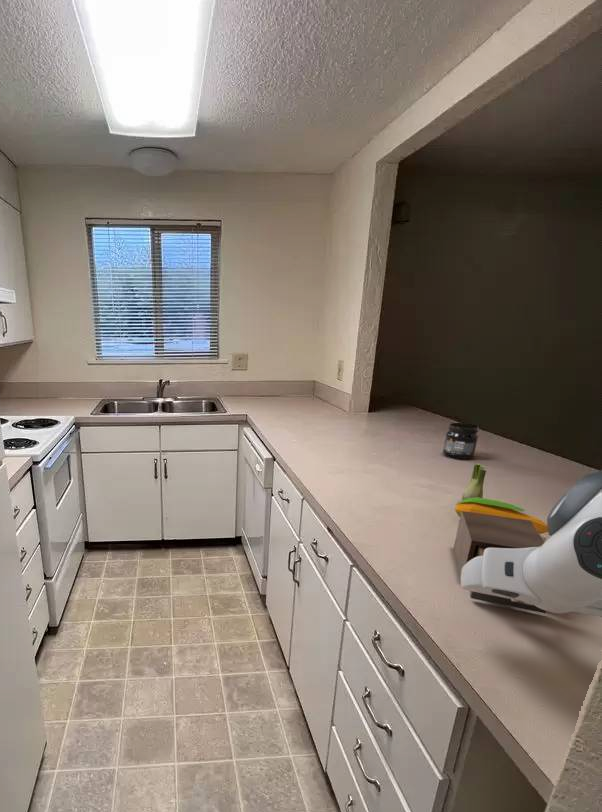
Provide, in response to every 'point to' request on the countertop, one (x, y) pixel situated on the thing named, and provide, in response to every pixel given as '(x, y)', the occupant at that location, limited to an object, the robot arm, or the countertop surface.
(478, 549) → the drawer
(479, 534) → the cabinet
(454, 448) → the supplement container
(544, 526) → the corn
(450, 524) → the countertop surface
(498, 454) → the countertop surface
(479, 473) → the fennel bulb
